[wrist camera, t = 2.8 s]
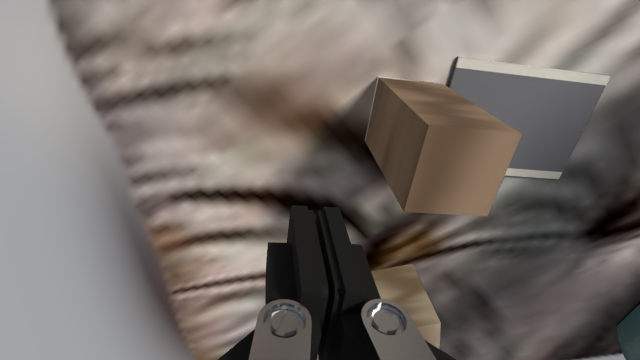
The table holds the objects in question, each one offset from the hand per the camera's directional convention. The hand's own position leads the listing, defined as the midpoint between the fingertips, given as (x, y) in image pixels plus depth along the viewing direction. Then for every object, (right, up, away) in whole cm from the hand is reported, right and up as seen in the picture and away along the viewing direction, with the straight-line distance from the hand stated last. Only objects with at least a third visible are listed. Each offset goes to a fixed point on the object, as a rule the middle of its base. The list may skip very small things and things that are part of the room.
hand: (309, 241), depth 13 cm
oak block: (+7, -9, +24) cm, 26 cm away
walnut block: (+7, +7, +15) cm, 18 cm away
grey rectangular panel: (+16, +7, +16) cm, 24 cm away
